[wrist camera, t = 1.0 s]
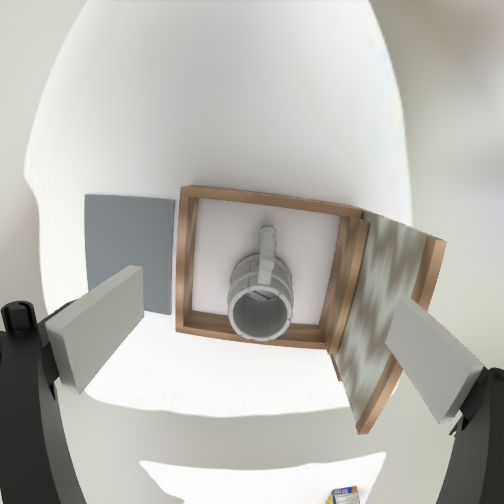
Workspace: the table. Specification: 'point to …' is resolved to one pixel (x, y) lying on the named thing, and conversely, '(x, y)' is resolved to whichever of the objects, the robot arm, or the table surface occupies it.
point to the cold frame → (333, 292)
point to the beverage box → (344, 496)
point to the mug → (260, 308)
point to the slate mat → (131, 243)
